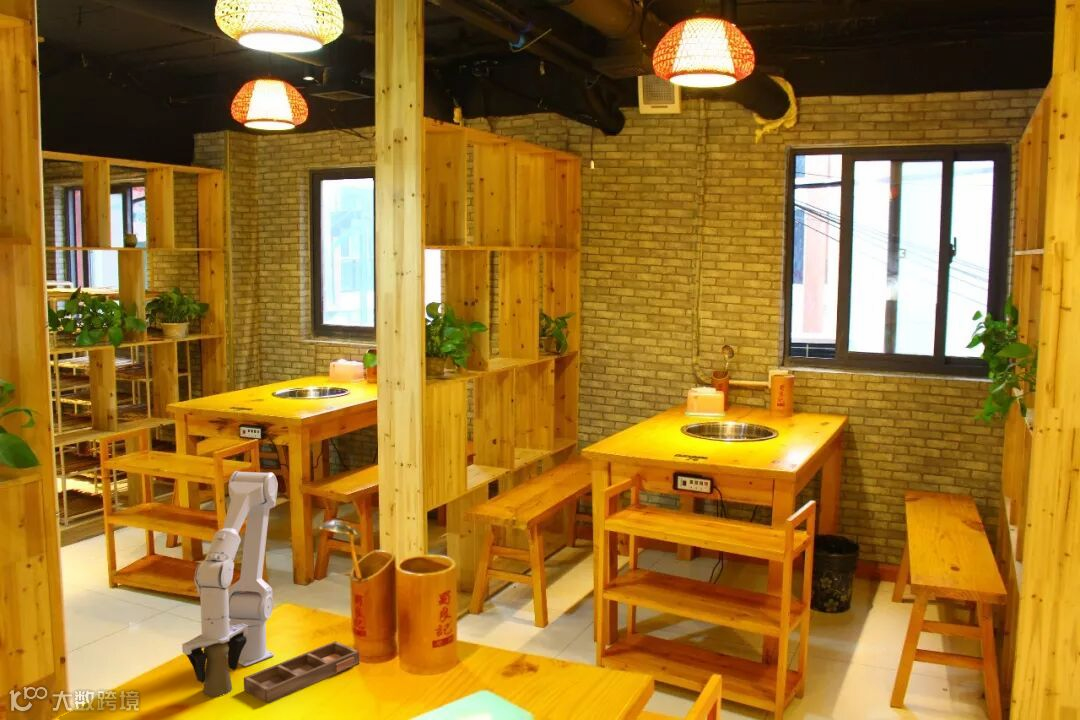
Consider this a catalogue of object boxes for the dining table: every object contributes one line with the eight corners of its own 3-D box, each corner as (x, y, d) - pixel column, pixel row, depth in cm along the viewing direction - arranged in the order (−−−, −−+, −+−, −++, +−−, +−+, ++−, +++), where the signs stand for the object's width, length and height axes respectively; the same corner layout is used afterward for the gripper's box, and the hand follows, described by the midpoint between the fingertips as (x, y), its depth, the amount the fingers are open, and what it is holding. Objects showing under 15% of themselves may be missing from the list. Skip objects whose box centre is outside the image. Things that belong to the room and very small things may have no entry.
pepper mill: (222, 698, 194) (221, 649, 193) (197, 695, 196) (195, 646, 194) (237, 685, 200) (235, 637, 199) (212, 682, 202) (211, 635, 200)
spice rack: (244, 690, 198) (243, 677, 198) (335, 653, 217) (335, 641, 217) (269, 704, 192) (268, 691, 192) (361, 664, 211) (360, 652, 211)
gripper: (193, 630, 188) (196, 692, 189) (255, 609, 199) (256, 668, 201) (176, 621, 192) (178, 682, 194) (237, 601, 204) (238, 659, 205)
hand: (217, 674), depth 198 cm, fingers open, 7 cm apart
